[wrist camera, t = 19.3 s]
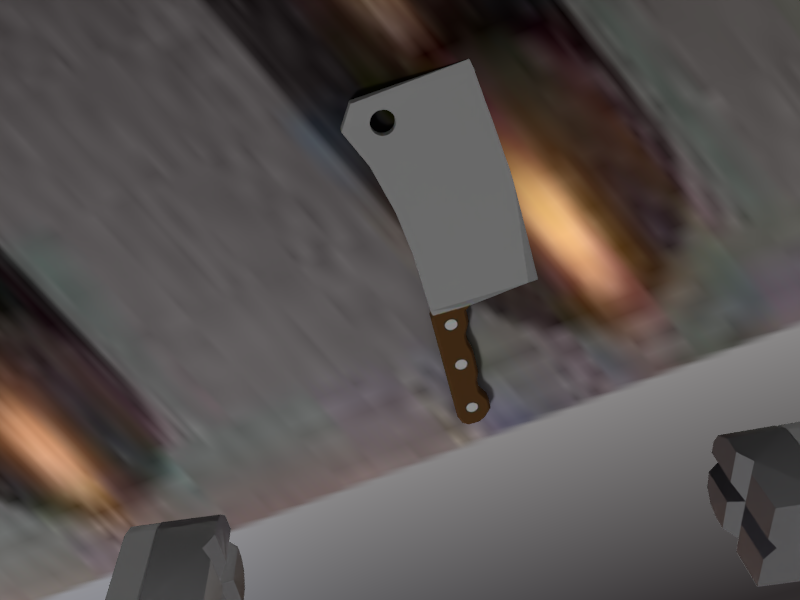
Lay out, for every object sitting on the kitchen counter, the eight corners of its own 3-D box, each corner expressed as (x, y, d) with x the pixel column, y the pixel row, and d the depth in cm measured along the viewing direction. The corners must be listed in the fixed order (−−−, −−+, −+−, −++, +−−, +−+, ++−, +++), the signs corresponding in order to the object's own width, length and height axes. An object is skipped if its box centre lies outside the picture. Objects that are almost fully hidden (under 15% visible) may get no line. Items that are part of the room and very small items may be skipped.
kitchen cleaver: (572, 396, 49) (433, 436, 49) (567, 387, 50) (430, 426, 50) (517, 41, 36) (330, 95, 36) (512, 37, 37) (329, 90, 37)
